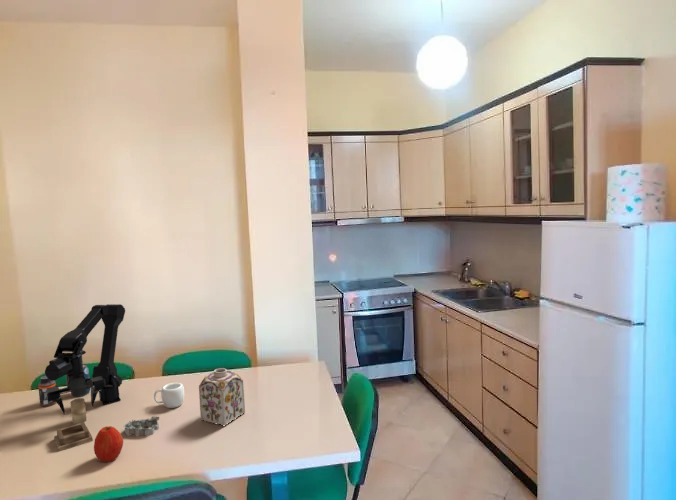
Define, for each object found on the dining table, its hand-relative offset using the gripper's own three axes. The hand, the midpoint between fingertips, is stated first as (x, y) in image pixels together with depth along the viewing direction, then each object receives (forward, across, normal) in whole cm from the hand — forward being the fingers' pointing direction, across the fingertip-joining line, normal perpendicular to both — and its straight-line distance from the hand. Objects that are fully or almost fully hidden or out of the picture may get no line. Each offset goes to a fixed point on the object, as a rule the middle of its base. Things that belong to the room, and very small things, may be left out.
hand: (78, 410), depth 171 cm
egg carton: (+5, +16, -23) cm, 29 cm away
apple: (+4, +3, -35) cm, 36 cm away
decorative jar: (+5, +42, -33) cm, 54 cm away
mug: (+5, +30, -9) cm, 32 cm away
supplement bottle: (+4, -7, +26) cm, 27 cm away
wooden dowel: (+4, 0, 0) cm, 4 cm away
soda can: (+5, +5, +28) cm, 29 cm away
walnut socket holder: (+4, -4, -14) cm, 15 cm away
